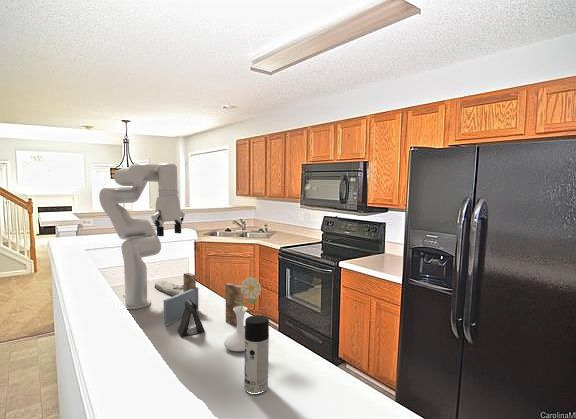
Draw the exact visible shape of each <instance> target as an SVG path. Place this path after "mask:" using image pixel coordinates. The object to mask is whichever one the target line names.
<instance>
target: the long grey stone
mask: <svg viewBox="0 0 576 419" xmlns="http://www.w3.org/2000/svg"><path fill="white" fill-rule="evenodd" d="M155 287H156V288H155ZM154 288H155V289H157V290H158V291H161V292H163V293H164V292H165V295H170V297H173V296H175V295H178V294H180V293H183V292H184V284H181V285H178V284H175V283H172V282H170V281H167V280H160V281H156V282H155V284H154Z"/></svg>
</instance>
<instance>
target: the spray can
mask: <svg viewBox="0 0 576 419" xmlns="http://www.w3.org/2000/svg"><path fill="white" fill-rule="evenodd" d="M269 319H270V318H268V317H267V316H265V315H251V316H250V315H249V316H247V317H246V318H245V320H244V321H245V322H244V329H245V351H244V380H243V381H244V383H243V384H244V386H243V387H244V390H246V391H248V392H251V393H258V392H262V391H265V390H266V389H267V390H268V388H269V349H270V347H269V346H270V345H269V343H270V342H269V340H270V337H269V336H270V331H269V330H270V324H269V322H270V320H269ZM267 387H268V388H267ZM267 390H266V391H267ZM246 391H245V392H246ZM266 391H265V392H266Z"/></svg>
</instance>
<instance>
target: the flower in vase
mask: <svg viewBox="0 0 576 419" xmlns="http://www.w3.org/2000/svg"><path fill="white" fill-rule="evenodd" d="M240 286H241V292H242V294H243V298H245V300H244V301H243V304H242V303H240V302H236V301H235V300H234V302H235V303H238V304H242V306H238V307H235V308H233V310H234V312H235V313H236V317H237V325H236V328H235V330H234V331H233V332H232V333H230V334H228V336H227V337H226V338H225V339H224V341H223V346H224V347H225V348H226V349H227V350H229V351H233V352H245V324H244V321H245V320H244V318H245V316H246V315H245V314H246V312H247V311H248V307H246V306H245V304H246V302H247V303H248V304H249V305H255V304H256V303H257V302H258V300H257V297H259V296H260V295H261V294H262V293H261V292H262V285H261V284H260V282H259V281H258V279H257V278H256V277H254V276H252V277H250V276H247V277H246V278H245V279H243V281H241V284H240Z"/></svg>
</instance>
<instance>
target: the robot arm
mask: <svg viewBox="0 0 576 419" xmlns="http://www.w3.org/2000/svg"><path fill="white" fill-rule="evenodd" d="M113 180H114V181H115V183H116V184H118V185H108V186H105V187H103V188H102V189H101V190H100V191H99V194H98V195H99V196H98V197H99V204H100V205H101V208H102V210H103V211H104V212H105V213H106V215H107V216H108V218H109V219H110V222H111V223H112V226H113V228H114V230H115V232H116V234H117V237H119V239H120V240H124V241H123V242H122V244H121V248H120V249H121V254H122V259H123V268H124V271H123V272H124V295H123V297H122V298H124V301H123V302H122V303H123V304H124V305H125V307H126V308H127V309H126V310H138V309H139V310H140V309H142V308H146V307H149V306H150V305H151V304H152V300H151V299H149V298H148V272H147V270H148V268H147V264H146V263H145V262H144V260H143V258H147V257H153V256H156V255H158V254H159V253H160V251H161V250H162V242H161V240H160V238H159V237H164V236H165V235H164V234H165V232H164V230H165V229H164V227H165V226H163V225H164V224H165V223H166V222H172V221H173V222H174V224H173V225H174V234H182V225H183V221H184V219H185V212H183V211H182V210H181V204H180V202H181V201H180V197H179V190H178V166H177V165H176V164H175V163H166V162H165V163H150V162H149V163H143V162H142V163H135V164H130V166H128V167H124V168H123V167H122V168H120V169H118V170H117V171H115V172H114V175H113ZM148 182H152V183H156V182H157V184H158V186H157V190H158V197H157V198H156V201H155V210H154V211H155V212H154V213H153V214H152V215H151V216H150V218H151V220H152V223H153V224H154V226H153V225H152V223H151V222H150V221H149V220H148V219H147V218H132V216H131V215H130V213H129V210H127V209H126V208H125V207H124V206H122V205H120V204H132V203H136V202H137V201H139V199H140V197H141V195H142V193H143V191H144V190H145V188H146V186H147V184H148ZM154 227H156V230H155V228H154Z"/></svg>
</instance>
